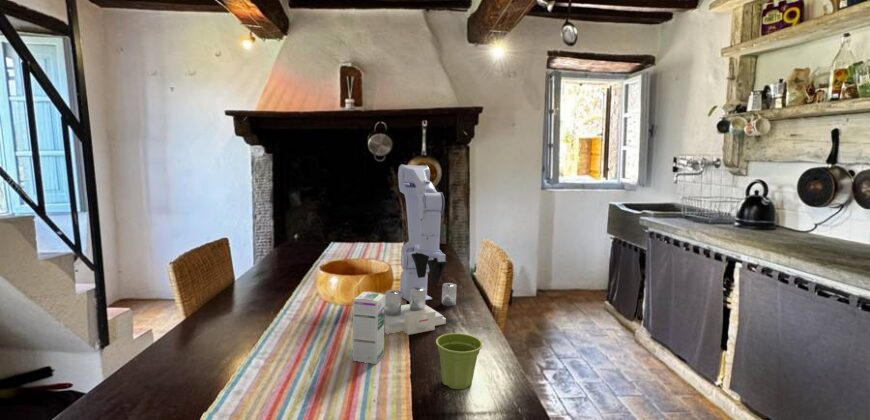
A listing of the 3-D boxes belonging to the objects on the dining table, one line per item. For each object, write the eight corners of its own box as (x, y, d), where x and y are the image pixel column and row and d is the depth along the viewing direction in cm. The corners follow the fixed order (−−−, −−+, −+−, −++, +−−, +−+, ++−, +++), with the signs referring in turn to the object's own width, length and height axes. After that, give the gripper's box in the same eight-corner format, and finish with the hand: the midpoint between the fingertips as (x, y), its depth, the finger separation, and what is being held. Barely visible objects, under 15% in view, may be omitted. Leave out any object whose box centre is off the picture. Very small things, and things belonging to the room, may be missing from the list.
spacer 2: (420, 305, 129) (421, 285, 128) (427, 310, 125) (428, 290, 124) (406, 308, 127) (407, 287, 126) (414, 313, 123) (415, 292, 122)
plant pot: (432, 371, 96) (434, 332, 95) (475, 371, 97) (477, 332, 95) (436, 394, 86) (438, 351, 85) (483, 394, 87) (486, 352, 86)
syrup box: (376, 365, 97) (378, 300, 95) (351, 361, 98) (352, 297, 97) (384, 354, 103) (386, 293, 101) (360, 350, 104) (362, 290, 102)
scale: (368, 318, 124) (368, 301, 123) (424, 309, 133) (424, 293, 133) (391, 338, 111) (391, 319, 111) (451, 327, 121) (452, 309, 120)
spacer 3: (439, 302, 141) (440, 283, 140) (450, 300, 143) (451, 282, 142) (446, 306, 137) (447, 287, 136) (458, 304, 139) (459, 286, 139)
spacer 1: (398, 310, 125) (398, 289, 124) (403, 315, 121) (404, 293, 120) (382, 311, 123) (383, 290, 122) (387, 317, 119) (388, 295, 118)
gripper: (405, 230, 131) (404, 275, 133) (430, 239, 119) (428, 289, 121) (426, 229, 135) (424, 273, 137) (452, 238, 123) (450, 286, 124)
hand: (427, 280), depth 129 cm, fingers open, 7 cm apart
